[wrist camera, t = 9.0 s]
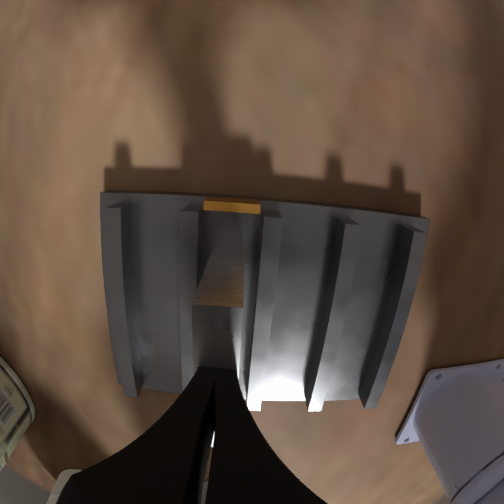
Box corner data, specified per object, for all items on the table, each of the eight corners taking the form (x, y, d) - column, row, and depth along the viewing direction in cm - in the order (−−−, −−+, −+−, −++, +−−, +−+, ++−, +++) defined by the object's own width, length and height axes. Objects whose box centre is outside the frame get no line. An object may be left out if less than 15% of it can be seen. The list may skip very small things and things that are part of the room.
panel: (245, 252, 16) (243, 307, 10) (237, 369, 18) (234, 448, 12) (212, 250, 16) (191, 304, 10) (209, 367, 18) (197, 445, 12)
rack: (421, 215, 16) (444, 225, 14) (375, 388, 20) (387, 411, 17) (108, 190, 16) (86, 196, 13) (123, 375, 19) (111, 398, 17)
